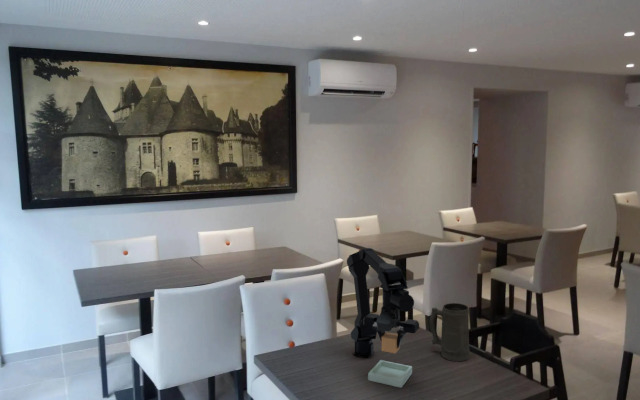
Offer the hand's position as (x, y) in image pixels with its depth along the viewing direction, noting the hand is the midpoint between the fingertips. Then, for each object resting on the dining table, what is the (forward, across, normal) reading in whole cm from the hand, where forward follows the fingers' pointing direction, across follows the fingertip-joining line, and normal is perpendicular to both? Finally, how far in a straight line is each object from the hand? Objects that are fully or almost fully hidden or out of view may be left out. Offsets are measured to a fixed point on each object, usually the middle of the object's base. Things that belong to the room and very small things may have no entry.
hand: (390, 346), depth 167 cm
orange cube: (+1, 0, 0) cm, 1 cm away
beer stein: (+11, +14, +27) cm, 33 cm away
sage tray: (+11, 0, 0) cm, 11 cm away
